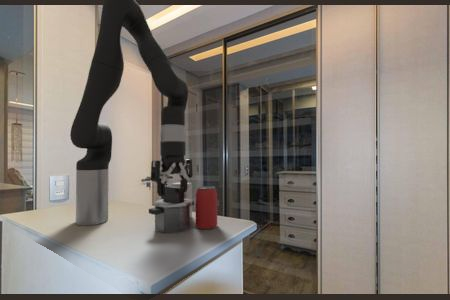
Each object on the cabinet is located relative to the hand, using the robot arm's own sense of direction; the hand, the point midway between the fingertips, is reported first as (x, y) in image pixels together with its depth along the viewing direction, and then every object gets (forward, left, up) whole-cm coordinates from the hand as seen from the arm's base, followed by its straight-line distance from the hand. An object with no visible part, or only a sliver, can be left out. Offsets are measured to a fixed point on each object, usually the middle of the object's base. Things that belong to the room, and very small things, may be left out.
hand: (173, 193), depth 69 cm
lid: (0, 0, -3) cm, 3 cm away
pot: (0, 0, -10) cm, 10 cm away
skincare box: (-6, +9, -10) cm, 15 cm away
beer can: (+8, +7, -10) cm, 14 cm away
